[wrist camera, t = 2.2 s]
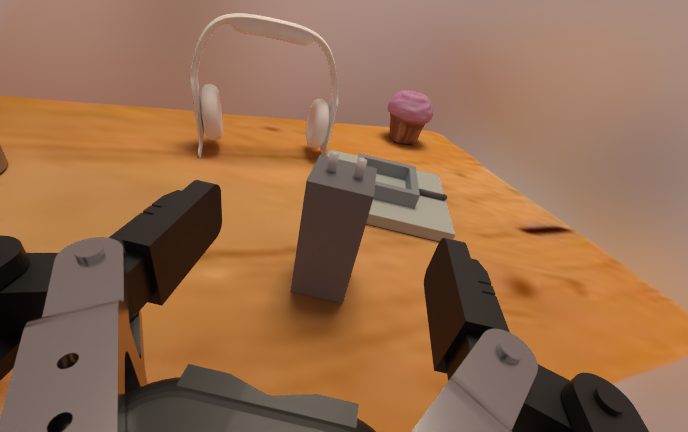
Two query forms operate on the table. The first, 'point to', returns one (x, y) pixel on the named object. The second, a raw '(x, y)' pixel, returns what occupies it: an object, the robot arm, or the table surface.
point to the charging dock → (407, 199)
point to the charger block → (332, 226)
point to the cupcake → (409, 115)
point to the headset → (267, 27)
